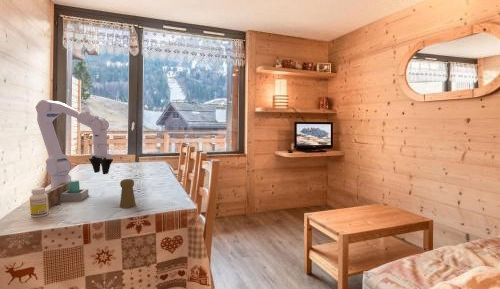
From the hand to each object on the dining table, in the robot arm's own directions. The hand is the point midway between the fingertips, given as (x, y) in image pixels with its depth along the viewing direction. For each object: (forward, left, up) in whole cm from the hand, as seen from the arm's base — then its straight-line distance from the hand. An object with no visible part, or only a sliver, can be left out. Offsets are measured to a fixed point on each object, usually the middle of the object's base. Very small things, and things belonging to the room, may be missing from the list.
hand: (101, 173), depth 138 cm
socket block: (+6, -10, -10) cm, 15 cm away
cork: (+24, +16, -10) cm, 31 cm away
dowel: (+6, -10, -9) cm, 15 cm away
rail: (+11, -15, -10) cm, 21 cm away
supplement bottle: (+30, -13, -10) cm, 34 cm away
